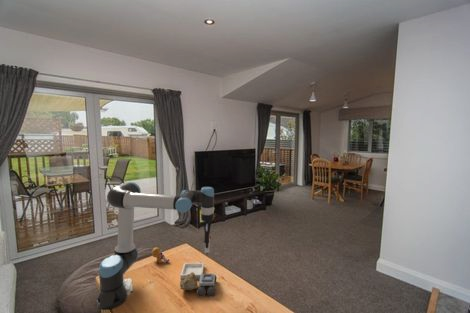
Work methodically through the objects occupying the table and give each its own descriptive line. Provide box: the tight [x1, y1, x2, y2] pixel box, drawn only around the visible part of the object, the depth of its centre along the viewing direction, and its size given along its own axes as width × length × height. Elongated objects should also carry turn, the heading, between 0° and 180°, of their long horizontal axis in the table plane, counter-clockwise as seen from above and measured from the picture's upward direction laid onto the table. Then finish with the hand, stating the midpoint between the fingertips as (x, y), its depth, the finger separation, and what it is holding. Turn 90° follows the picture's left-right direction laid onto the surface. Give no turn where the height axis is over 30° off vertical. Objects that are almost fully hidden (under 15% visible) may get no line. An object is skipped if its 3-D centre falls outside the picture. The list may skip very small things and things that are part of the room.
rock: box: [179, 272, 198, 291], centre depth 136 cm, size 12×10×10 cm
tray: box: [179, 262, 205, 281], centre depth 152 cm, size 14×14×3 cm
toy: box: [151, 246, 170, 264], centre depth 164 cm, size 14×7×15 cm
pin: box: [203, 232, 212, 256], centre depth 134 cm, size 4×4×12 cm
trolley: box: [196, 273, 217, 298], centre depth 137 cm, size 11×14×8 cm
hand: (207, 250), depth 135 cm, fingers closed on pin, 3 cm apart
